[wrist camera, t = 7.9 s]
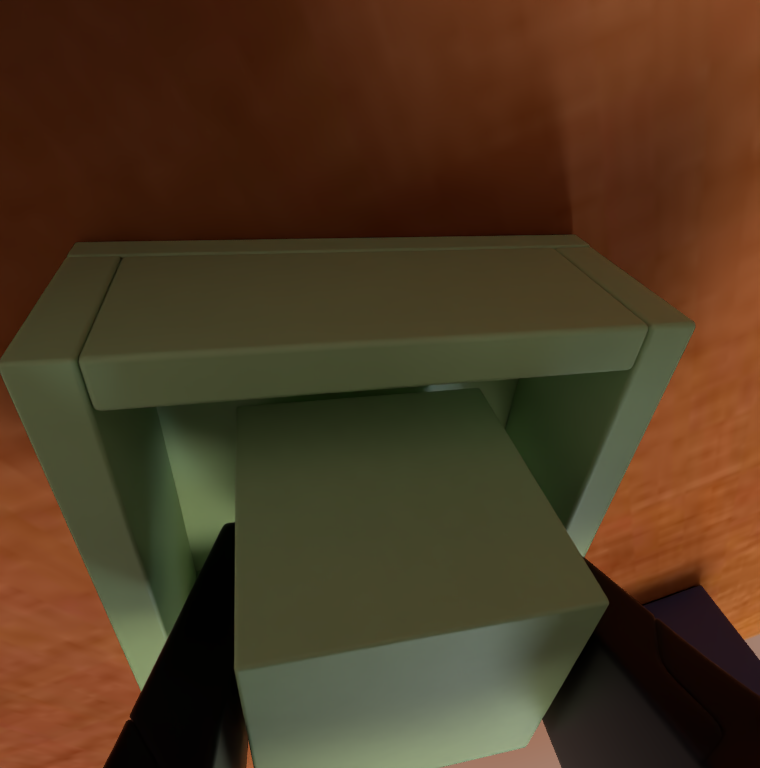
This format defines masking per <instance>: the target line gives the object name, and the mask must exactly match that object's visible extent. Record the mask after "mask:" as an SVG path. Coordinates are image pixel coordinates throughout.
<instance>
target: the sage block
mask: <svg viewBox="0 0 760 768" xmlns="http://www.w3.org/2000/svg"><path fill="white" fill-rule="evenodd" d="M608 605H609V601H608V598H607V597H606V595H605V593H604V592H603V590H602V589H601V587H600V585H599V584H598V582H597V580H596V579H595V577H594V575H593V574H592V572H591V570H590V569H589V567H588V565H587V564H586V562H585V561H584V559H583V557H582V556H581V554H580V552H579V551H578V549H577V547H576V546H575V544H574V542H573V541H572V539H571V537H570V536H569V534H568V533H567V531H566V529H565V528H564V526H563V524H562V523H561V521H560V519H559V518H558V516H557V514H556V513H555V511H554V510H553V508H552V506H551V505H550V503H549V501H548V500H547V498H546V496H545V495H544V493H543V491H542V490H541V488H540V486H539V485H538V483H537V482H536V480H535V478H534V477H533V475H532V473H531V472H530V470H529V468H528V467H527V465H526V463H525V462H524V460H523V459H522V457H521V455H520V454H519V452H518V450H517V449H516V447H515V445H514V444H513V442H512V440H511V439H510V437H509V435H508V434H507V432H506V431H505V429H504V427H503V426H502V424H501V422H500V421H499V419H498V417H497V416H496V414H495V412H494V411H493V409H492V407H491V406H490V404H489V403H488V401H487V399H486V398H485V396H484V394H483V393H482V391H481V389H480V388H468V389H455V390H443V391H430V392H417V393H404V394H392V395H379V396H366V397H353V398H341V399H328V400H315V401H302V402H290V403H277V404H264V405H251V406H239V407H237V409H236V470H235V608H234V671H235V676H236V681H237V686H238V691H239V696H240V701H241V706H242V711H243V716H244V721H245V725H246V730H247V735H248V740H249V745H250V750H251V755H252V760H253V765H254V768H440V767H444V766H449V765H453V764H457V763H461V762H465V761H469V760H474V759H478V758H482V757H487V756H490V755H494V754H499V753H503V752H507V751H512V750H516V749H520V748H524V747H526V746H527V744H528V743H529V741H530V739H531V737H532V736H533V734H534V732H535V731H536V729H537V727H538V725H539V724H540V722H541V720H542V719H543V717H544V715H545V713H546V712H547V710H548V708H549V706H550V705H551V703H552V701H553V700H554V698H555V696H556V694H557V693H558V691H559V689H560V688H561V686H562V684H563V682H564V681H565V679H566V677H567V676H568V674H569V672H570V670H571V669H572V667H573V665H574V664H575V662H576V660H577V658H578V657H579V655H580V653H581V652H582V650H583V648H584V646H585V645H586V643H587V641H588V639H589V638H590V636H591V634H592V633H593V631H594V629H595V627H596V626H597V624H598V622H599V621H600V619H601V617H602V615H603V614H604V612H605V610H606V609H607V607H608Z"/></svg>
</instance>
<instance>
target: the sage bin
mask: <svg viewBox="0 0 760 768" xmlns="http://www.w3.org/2000/svg"><path fill="white" fill-rule="evenodd" d="M694 329H695V323H694V321H692V320H691V319H689V318H688V317H687V316H685V315H684V314H683V313H681V312H680V311H678V310H677V309H676V308H674V307H673V306H671V305H670V304H669V303H667V302H666V301H665V300H663V299H662V298H660V297H659V296H658V295H656V294H655V293H654V292H652V291H651V290H649V289H648V288H647V287H645V286H644V285H642V284H641V283H640V282H638V281H637V280H636V279H634V278H633V277H631V276H630V275H629V274H627V273H626V272H625V271H623V270H622V269H620V268H619V267H618V266H616V265H615V264H613V263H612V262H611V261H609V260H608V259H607V258H605V257H604V256H602V255H601V254H600V253H598V252H597V251H596V250H594V249H593V248H591V247H590V245H589V244H587V243H586V242H585V241H583V240H582V239H581V238H579V237H578V236H576V235H516V236H451V237H385V238H319V239H254V240H188V241H123V242H76V243H75V244H74V245H73V247H72V248H71V250H70V252H69V253H68V255H67V258H65V260H64V261H63V263H62V265H61V266H60V268H59V269H58V271H57V272H56V274H55V275H54V277H53V278H52V280H51V282H50V283H49V285H48V286H47V288H46V289H45V291H44V292H43V294H42V295H41V297H40V298H39V300H38V302H37V303H36V305H35V306H34V308H33V309H32V311H31V312H30V314H29V315H28V317H27V319H26V320H25V322H24V323H23V325H22V326H21V328H20V329H19V331H18V332H17V334H16V335H15V337H14V339H13V340H12V342H11V343H10V345H9V346H8V348H7V349H6V351H5V352H4V354H3V355H2V357H1V359H0V374H1V376H2V378H3V381H4V383H5V385H6V387H7V390H8V392H9V394H10V396H11V399H12V401H13V403H14V405H15V408H16V410H17V412H18V414H19V417H20V419H21V421H22V423H23V426H24V428H25V430H26V432H27V435H28V437H29V439H30V441H31V444H32V446H33V448H34V451H35V453H36V455H37V457H38V460H39V462H40V464H41V466H42V469H43V471H44V473H45V475H46V478H47V480H48V482H49V484H50V487H51V489H52V491H53V493H54V496H55V498H56V500H57V502H58V505H59V507H60V509H61V511H62V514H63V516H64V518H65V520H66V523H67V525H68V527H69V530H70V532H71V534H72V536H73V539H74V541H75V543H76V545H77V548H78V550H79V552H80V554H81V557H82V559H83V561H84V563H85V566H86V568H87V570H88V572H89V575H90V577H91V579H92V581H93V584H94V586H95V588H96V590H97V593H98V595H99V597H100V599H101V602H102V604H103V606H104V609H105V611H106V613H107V615H108V618H109V620H110V622H111V624H112V627H113V629H114V631H115V633H116V636H117V638H118V640H119V642H120V645H121V647H122V649H123V651H124V654H125V656H126V658H127V660H128V663H129V665H130V667H131V669H132V672H133V674H134V676H135V678H136V681H137V683H138V685H139V688H140V690H141V691H142V689H143V687H144V685H145V683H146V681H147V679H148V677H149V675H150V673H151V671H152V669H153V667H154V665H155V663H156V661H157V659H158V657H159V655H160V652H161V650H162V648H163V646H164V644H165V642H166V640H167V638H168V636H169V634H170V632H171V630H172V628H173V626H174V624H175V622H176V620H177V618H178V616H179V614H180V612H181V610H182V608H183V606H184V604H185V602H186V600H187V597H188V595H189V593H190V591H191V589H192V587H193V585H194V583H195V581H196V579H197V577H198V575H199V573H200V571H201V569H202V567H203V565H204V563H205V561H206V559H207V557H208V555H209V553H210V551H211V549H212V547H213V545H214V542H215V540H216V538H217V536H218V534H219V532H220V530H221V528H222V527H223V525H224V524H226V523H232V522H235V470H236V409H237V407H239V406H251V405H264V404H277V403H290V402H302V401H315V400H328V399H341V398H353V397H366V396H379V395H392V394H404V393H417V392H430V391H443V390H455V389H468V388H480V389H481V391H482V393H483V394H484V396H485V398H486V399H487V401H488V403H489V404H490V406H491V407H492V409H493V411H494V412H495V414H496V416H497V417H498V419H499V421H500V422H501V424H502V426H503V427H504V429H505V431H506V432H507V434H508V435H509V437H510V439H511V440H512V442H513V444H514V445H515V447H516V449H517V450H518V452H519V454H520V455H521V457H522V459H523V460H524V462H525V463H526V465H527V467H528V468H529V470H530V472H531V473H532V475H533V477H534V478H535V480H536V482H537V483H538V485H539V486H540V488H541V490H542V491H543V493H544V495H545V496H546V498H547V500H548V501H549V503H550V505H551V506H552V508H553V510H554V511H555V513H556V514H557V516H558V518H559V519H560V521H561V523H562V524H563V526H564V528H565V529H566V531H567V533H568V534H569V536H570V537H571V539H572V541H573V542H574V544H575V546H576V547H577V549H578V551H579V552H580V554H581V555H582V556H583V557H585V555H586V553H587V551H588V548H589V546H590V544H591V542H592V540H593V538H594V536H595V534H596V532H597V530H598V528H599V526H600V524H601V522H602V520H603V517H604V515H605V513H606V511H607V509H608V507H609V505H610V503H611V501H612V499H613V497H614V495H615V493H616V491H617V489H618V486H619V484H620V482H621V480H622V478H623V476H624V474H625V472H626V470H627V468H628V466H629V464H630V462H631V460H632V458H633V455H634V453H635V451H636V449H637V447H638V445H639V443H640V441H641V439H642V437H643V435H644V433H645V431H646V429H647V427H648V424H649V422H650V420H651V418H652V416H653V414H654V412H655V410H656V408H657V406H658V404H659V402H660V400H661V398H662V396H663V393H664V391H665V389H666V387H667V385H668V383H669V381H670V379H671V377H672V375H673V373H674V371H675V369H676V367H677V365H678V362H679V360H680V358H681V356H682V354H683V352H684V350H685V348H686V346H687V344H688V342H689V340H690V338H691V336H692V334H693V331H694Z"/></svg>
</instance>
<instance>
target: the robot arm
mask: <svg viewBox="0 0 760 768" xmlns="http://www.w3.org/2000/svg"><path fill="white" fill-rule="evenodd" d="M581 556H582V555H581ZM582 557H583V556H582ZM583 559H584V561H585V562H586V564H587V565H588V567H589V569H590V570H591V572H592V574H593V575H594V577H595V579H596V580H597V582H598V584H599V585H600V587H601V589H602V590H603V592H604V593H605V595H606V597H607V598H608V601H609V605H608V607H607V609H606V610H605V612H604V614H603V615H602V617H601V619H600V621H599V622H598V624H597V626H596V627H595V629H594V631H593V633H592V634H591V636H590V638H589V639H588V641H587V643H586V645H585V646H584V648H583V650H582V652H581V653H580V655H579V657H578V658H577V660H576V662H575V664H574V665H573V667H572V669H571V670H570V672H569V674H568V676H567V677H566V679H565V681H564V682H563V684H562V686H561V688H560V689H559V691H558V693H557V694H556V696H555V698H554V700H553V701H552V703H551V705H550V706H549V708H548V710H547V712H546V713H545V715H544V717H543V719H542V720H543V722H544V725H545V727H546V730H547V732H548V735H549V737H550V740H551V742H552V745H553V747H554V750H555V752H556V755H557V757H558V760H559V762H560V765H561V767H562V768H760V696H759V695H757V694H756V693H755V692H753V691H752V690H750V689H749V688H748V687H746V686H745V685H743V684H742V683H741V682H739V681H738V680H736V679H735V678H734V677H732V676H731V675H730V674H728V673H727V672H726V671H724V670H723V669H722V668H720V667H719V666H718V665H716V664H715V663H713V662H712V661H711V660H709V659H708V658H707V657H705V656H704V655H703V654H702V653H700V652H699V651H698V650H697V649H695V648H694V647H693V646H691V645H690V644H689V643H688V642H686V641H685V640H684V639H683V638H681V637H680V636H679V635H678V634H676V633H675V632H674V631H673V630H672V629H670V628H669V627H668V626H667V625H666V624H664V623H663V622H662V621H661V620H659V619H658V618H656V619H655V617H654V615H653V614H652V613H651V612H650V611H648V610H647V609H646V608H645V607H644V606H642V605H641V604H640V603H639V602H638V601H636V600H635V599H634V598H633V597H631V596H630V595H629V594H628V593H627V592H625V591H624V590H623V589H622V588H621V587H619V586H618V585H617V584H616V583H615V582H613V581H612V580H611V579H610V578H609V577H607V576H606V575H605V574H604V573H602V572H601V571H600V570H599V569H598V568H596V567H595V566H594V565H593V564H592V563H590V562H589V561H588V560H587V559H586V558H584V557H583ZM234 608H235V522H232V523H226V524H224V525H223V527H222V528H221V530H220V532H219V534H218V536H217V538H216V540H215V542H214V545H213V547H212V549H211V551H210V553H209V555H208V557H207V559H206V561H205V563H204V565H203V567H202V569H201V571H200V573H199V575H198V577H197V579H196V581H195V583H194V585H193V587H192V589H191V591H190V593H189V595H188V597H187V600H186V602H185V604H184V606H183V608H182V610H181V612H180V614H179V616H178V618H177V620H176V622H175V624H174V626H173V628H172V630H171V632H170V634H169V636H168V638H167V640H166V642H165V644H164V646H163V648H162V650H161V652H160V655H159V657H158V659H157V661H156V663H155V665H154V667H153V669H152V671H151V673H150V675H149V677H148V679H147V681H146V683H145V685H144V687H143V689H142V691H141V693H140V695H139V697H138V699H137V701H136V703H135V705H134V708H133V710H132V712H131V714H130V718H131V720H128V721H126V723H125V725H124V727H123V729H122V731H121V733H120V735H119V738H118V740H117V742H116V744H115V746H114V748H113V750H112V752H111V753H110V755H109V757H108V759H107V761H106V763H105V765H104V767H103V768H246V764H247V750H248V735H247V730H246V725H245V721H244V716H243V711H242V706H241V701H240V696H239V691H238V686H237V681H236V676H235V671H234Z"/></svg>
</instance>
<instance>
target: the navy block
mask: <svg viewBox="0 0 760 768" xmlns="http://www.w3.org/2000/svg"><path fill="white" fill-rule="evenodd" d="M644 607H645V608H646V609H647V610H648V611H650V612H651V613H652V614H653V615H654V617H655V619H656V618H658V619H659V620H661V621H662V622H663V623H664V624H666V625H667V626H668V627H669V628H670V629H672V630H673V631H674V632H675V633H676V634H678V635H679V636H680V637H681V638H683V639H684V640H685V641H686V642H688V643H689V644H690V645H691V646H693V647H694V648H695V649H697V650H698V651H699V652H700V653H702V654H703V655H704V656H705V657H707V658H708V659H709V660H711V661H712V662H713V663H715V664H716V665H718V666H719V667H720V668H722V669H723V670H724V671H726V672H727V673H728V674H730V675H731V676H732V677H734V678H735V679H736V680H738V681H739V682H741V683H742V684H743V685H745V686H746V687H748V688H749V689H750V690H752V691H753V692H755V693H756V694H757V695H759V696H760V660H759V659H758V658H757V656H756V655H755V654H754V652H753V651H752V650H751V648H750V647H749V646H748V645H747V643H746V642H745V641H744V639H743V638H742V637H741V636H740V634H739V633H738V632H737V630H736V629H735V628H734V627H733V625H732V624H731V623H730V622H729V620H728V619H727V618H726V616H725V615H724V614H723V613H722V611H721V610H720V609H719V607H718V606H717V605H716V604H715V602H714V601H713V600H712V598H711V597H710V596H709V595H708V593H707V592H706V591H705V589H704V588H703V587H702V586H701V585H699V586H696V587H693V588H691V589H688V590H685V591H682V592H680V593H677V594H674V595H671V596H669V597H666V598H663V599H660V600H657V601H655V602H652V603H649V604H646V605H644Z"/></svg>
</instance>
